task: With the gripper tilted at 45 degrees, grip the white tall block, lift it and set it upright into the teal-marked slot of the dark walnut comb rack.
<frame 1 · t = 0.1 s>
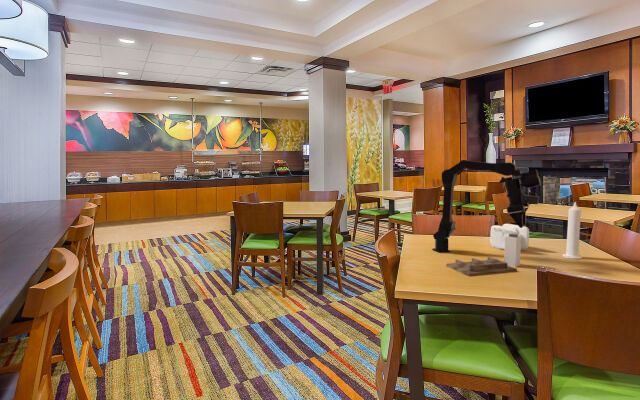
hand: (522, 226, 156), 15 cm above the table, tool pointing down, fingers open, 9 cm apart
white tall block: (511, 264, 152), on the table
candle: (572, 257, 164), on the table
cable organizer: (509, 249, 180), on the table
comb rack: (480, 268, 147), on the table
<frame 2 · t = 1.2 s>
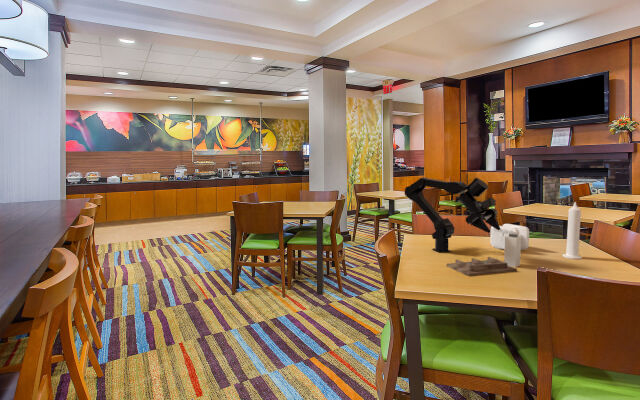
hand: (494, 231, 157), 13 cm above the table, tool tilted 45°, fingers open, 9 cm apart
nothing on the table moved.
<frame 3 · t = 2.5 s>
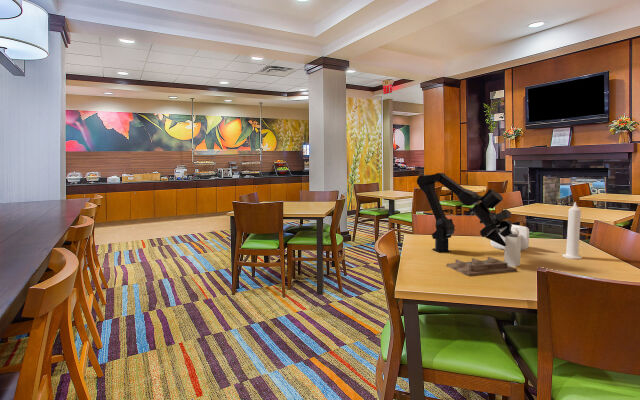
hand: (510, 244, 152), 9 cm above the table, tool tilted 45°, fingers open, 9 cm apart
nothing on the table moved.
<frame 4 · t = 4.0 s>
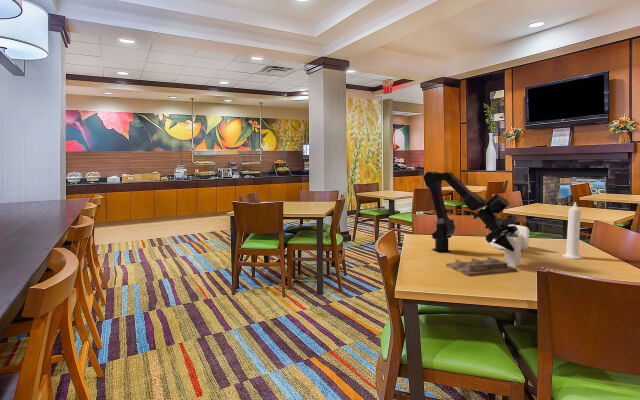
hand: (516, 250, 151), 7 cm above the table, tool tilted 45°, fingers closed on white tall block, 4 cm apart
white tall block: (512, 264, 152), on the table, touching gripper
everything else where it was.
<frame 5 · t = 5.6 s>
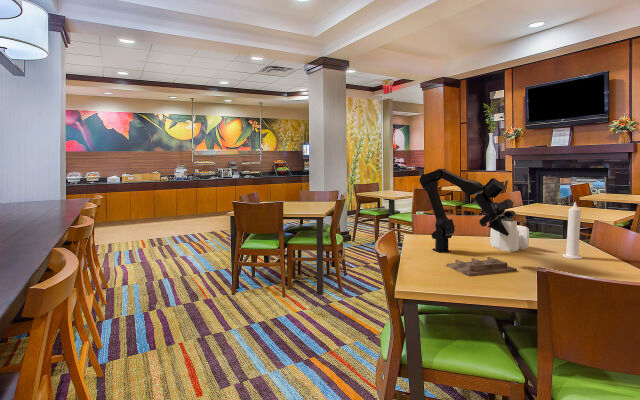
hand: (511, 234, 148), 13 cm above the table, tool tilted 45°, fingers closed on white tall block, 4 cm apart
white tall block: (507, 249, 150), point 7 cm above the table, touching gripper
everything else where it was.
when the fingers open (9 cm above the table, at t = 7.7 s): white tall block drops 1 cm, resting on comb rack.
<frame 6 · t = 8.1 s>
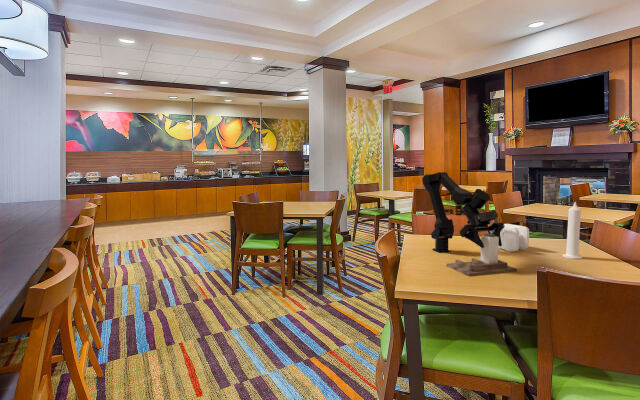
hand: (492, 246, 146), 9 cm above the table, tool tilted 45°, fingers open, 8 cm apart
white tall block: (489, 265, 148), point 1 cm above the table, touching comb rack
everything else where it was.
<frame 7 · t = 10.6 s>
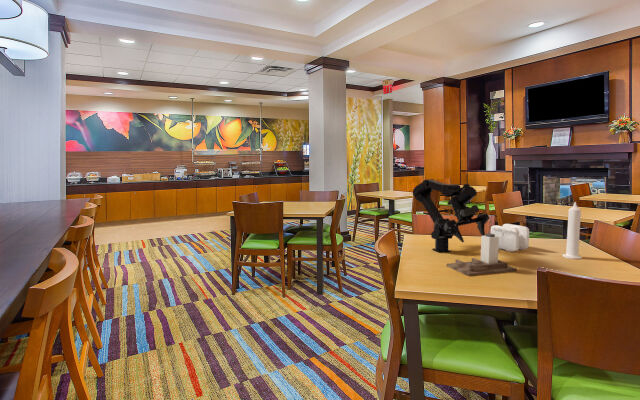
hand: (473, 239, 156), 10 cm above the table, tool tilted 35°, fingers open, 9 cm apart
nothing on the table moved.
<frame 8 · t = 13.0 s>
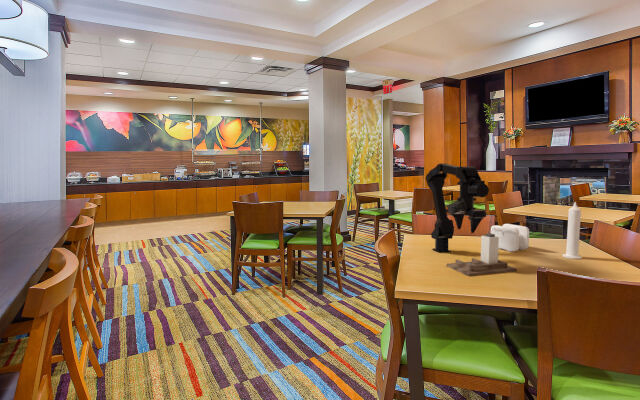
hand: (465, 231, 159), 13 cm above the table, tool pointing down, fingers open, 9 cm apart
nothing on the table moved.
at the end: white tall block 0.3 cm from the target spot on the comb rack, point 1.0 cm above the comb rack's base; white tall block tilted 0°; the gripper is holding nothing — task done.
